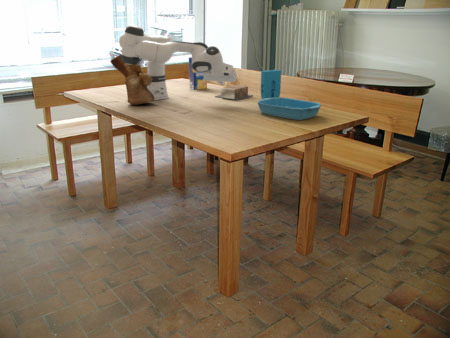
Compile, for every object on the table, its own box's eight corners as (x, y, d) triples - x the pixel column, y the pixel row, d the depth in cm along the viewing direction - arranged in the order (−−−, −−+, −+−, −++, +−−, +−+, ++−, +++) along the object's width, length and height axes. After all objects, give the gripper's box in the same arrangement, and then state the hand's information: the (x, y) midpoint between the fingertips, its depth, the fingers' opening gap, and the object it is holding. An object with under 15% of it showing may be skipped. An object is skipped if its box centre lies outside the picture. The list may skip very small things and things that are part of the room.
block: (275, 102, 280) (276, 69, 273) (280, 103, 276) (281, 70, 269) (259, 104, 274) (260, 70, 268) (264, 105, 270) (265, 71, 264)
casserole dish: (249, 113, 253) (249, 100, 250) (274, 107, 268) (274, 95, 265) (304, 124, 228) (305, 110, 226) (328, 116, 243) (329, 103, 241)
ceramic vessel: (154, 102, 265) (143, 50, 257) (117, 108, 266) (106, 56, 258) (157, 99, 280) (148, 49, 272) (123, 104, 281) (112, 55, 273)
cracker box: (207, 88, 329) (206, 57, 322) (193, 89, 324) (193, 58, 317) (202, 87, 335) (202, 56, 327) (189, 88, 329) (188, 57, 322)
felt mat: (237, 100, 287) (237, 99, 286) (215, 97, 297) (215, 96, 297) (253, 96, 300) (253, 95, 300) (231, 93, 310) (231, 92, 310)
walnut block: (233, 89, 285) (247, 86, 297) (221, 88, 290) (235, 84, 302) (233, 99, 287) (247, 95, 299) (221, 97, 292) (235, 93, 304)
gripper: (199, 72, 268) (204, 87, 280) (233, 73, 263) (236, 88, 275) (202, 64, 271) (207, 79, 283) (235, 65, 265) (238, 80, 277)
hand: (222, 84), depth 279 cm, fingers closed
